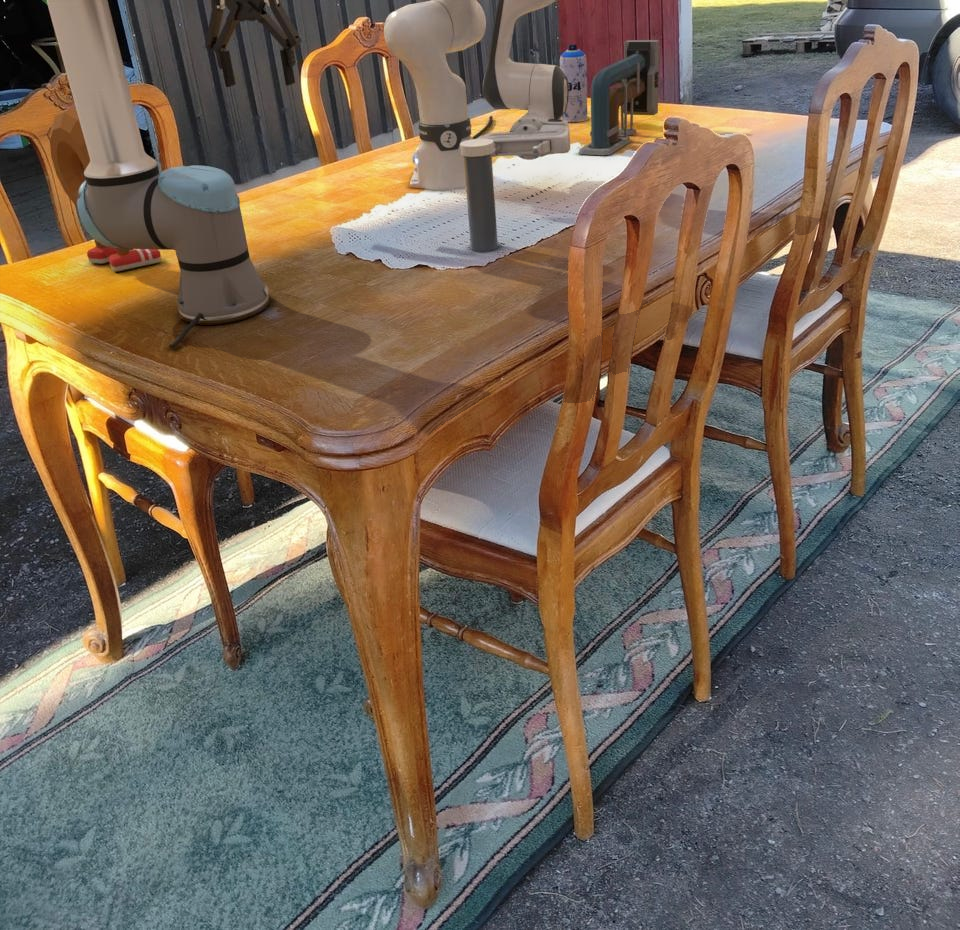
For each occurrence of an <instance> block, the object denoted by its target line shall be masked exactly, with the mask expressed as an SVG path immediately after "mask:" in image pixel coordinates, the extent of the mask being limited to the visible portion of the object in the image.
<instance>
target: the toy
mask: <svg viewBox="0 0 960 930" xmlns="http://www.w3.org/2000/svg"><path fill="white" fill-rule="evenodd" d="M49 134H50V136H49V148H50V149H49V150H50V157H51V160H52V161H51V162H52V164H53V169H54V171H55V174H56V177H57V180H58V181H59V183H60V186H62V189H63V191H64V193H65V194H66V195H67V197H68V198H69V200H70V201H71V202H72V203H73V205H74V206H75V207H76V208H78V206H77V200H78V199H79V198H80V196H79V195H78V192H79V189H80V187H81V185H82V184H83V182H84V181H86V179H85V175H84V171H85V169H86V168H87V166H88V164H89V163H90V157H89V153H88V150H87V146H86V143H85V139H84V135H83V132H82V128H81V124H80V121H79V117H78V113H77V110H76V106H75V104H74V105H72V106H70V107H68V108H65V109H64V110H62V111H60V112H58V113H57V114H56V115H54V118H53V121H52V124H51V128H50V133H49ZM93 240H94V244H95V247H93V248H90V249H88V250H87V252H86V255H87V258H88V262H89V263H91V264H100V265H102V264H103V265H105V264H108V263H109V265H110V268H111V270H112V271H114V272H122V271H127V270H133V269H137V268H141V267H145V266H146V267H147V266H151V265H155V264H159V263H161V262H162V260H163V259H162V254H161V251H160V250H159V249H133V250H124V249H120V248H113V247H107V246H104V245H102V244H101V243H99V242H97V241H96V240H95V239H93Z"/></svg>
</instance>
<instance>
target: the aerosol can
mask: <svg viewBox="0 0 960 930" xmlns="http://www.w3.org/2000/svg"><path fill="white" fill-rule="evenodd" d="M559 67H560V69H561V70H562V71H563V73H564V74H565V76H566V78H567V80H568V85H569V96H568V104H567V109H566V112H565V114H564V115H563V116H562V117H561V119H562V120H567V121H568V123H580V122H584V121H587V120H589V116H588V63H587V55H586V54H585V52H584V51H583V50H581V49H579V48H578V44H577V43H574V44H568V48H567V49H566V50H565V51H563V52H562V53H561V55H560V56H559Z"/></svg>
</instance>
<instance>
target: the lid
mask: <svg viewBox="0 0 960 930" xmlns="http://www.w3.org/2000/svg"><path fill="white" fill-rule="evenodd" d="M493 152H494V142H493V140H491V139H471V140H466V141H463V142H461V143H460V153H461V155H462V156H466V157H479V156H486V155H489V154H492V153H493Z"/></svg>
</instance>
